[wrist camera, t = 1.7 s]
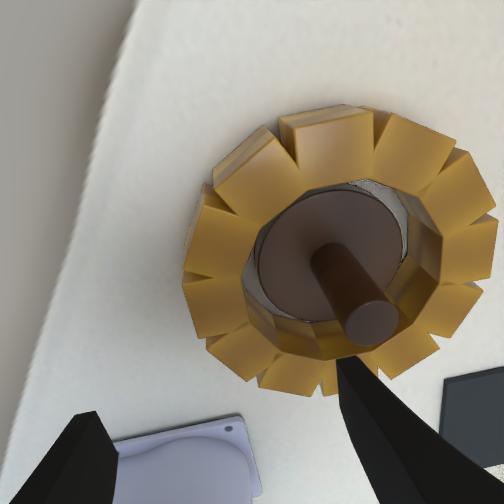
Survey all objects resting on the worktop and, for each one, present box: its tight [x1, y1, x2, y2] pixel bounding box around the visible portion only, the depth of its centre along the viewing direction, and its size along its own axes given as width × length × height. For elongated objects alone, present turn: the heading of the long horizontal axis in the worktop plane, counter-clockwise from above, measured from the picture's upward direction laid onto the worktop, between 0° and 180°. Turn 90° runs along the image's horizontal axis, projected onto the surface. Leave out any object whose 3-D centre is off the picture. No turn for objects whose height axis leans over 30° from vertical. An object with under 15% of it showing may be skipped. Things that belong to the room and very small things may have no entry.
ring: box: [182, 104, 498, 397], centre depth 17 cm, size 13×13×3 cm
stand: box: [255, 184, 403, 346], centre depth 16 cm, size 7×7×6 cm
